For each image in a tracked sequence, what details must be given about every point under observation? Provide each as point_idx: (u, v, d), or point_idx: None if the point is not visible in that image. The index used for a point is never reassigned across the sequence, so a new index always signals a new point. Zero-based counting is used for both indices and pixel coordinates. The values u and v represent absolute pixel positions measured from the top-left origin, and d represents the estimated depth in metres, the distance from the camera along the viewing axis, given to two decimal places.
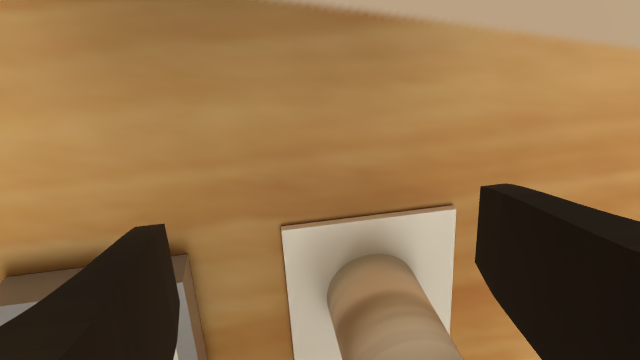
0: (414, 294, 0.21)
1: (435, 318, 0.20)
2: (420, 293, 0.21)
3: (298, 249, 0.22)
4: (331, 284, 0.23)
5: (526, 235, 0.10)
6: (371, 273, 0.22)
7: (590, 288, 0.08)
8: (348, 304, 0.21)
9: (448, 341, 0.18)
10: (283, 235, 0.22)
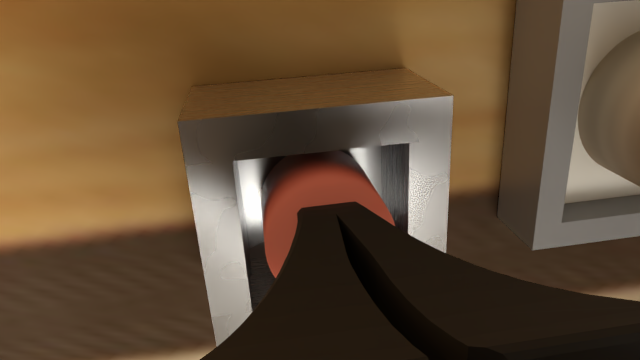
0: None
1: None
2: None
3: None
4: None
5: (349, 258, 0.09)
6: None
7: None
8: None
9: None
10: None
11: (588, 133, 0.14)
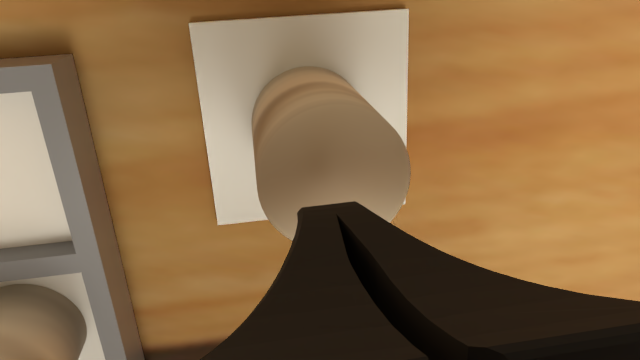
0: (348, 88, 0.16)
1: (371, 106, 0.15)
2: (358, 93, 0.17)
3: (211, 51, 0.18)
4: (255, 103, 0.19)
5: (349, 258, 0.09)
6: (299, 75, 0.17)
7: None
8: (266, 104, 0.17)
9: None
10: (191, 30, 0.18)
11: None
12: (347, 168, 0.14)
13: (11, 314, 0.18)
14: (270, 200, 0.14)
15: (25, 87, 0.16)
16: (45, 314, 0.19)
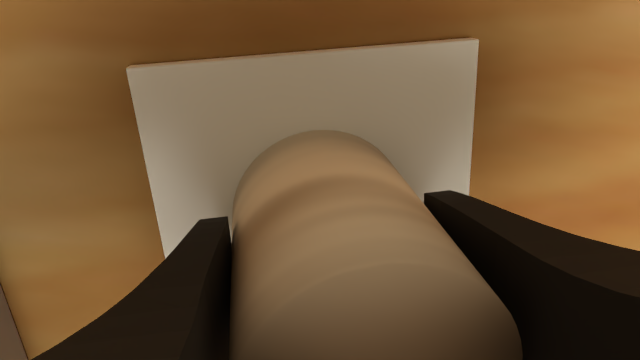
0: (393, 185, 0.09)
1: (439, 228, 0.08)
2: (407, 188, 0.10)
3: (166, 111, 0.11)
4: (238, 189, 0.12)
5: (460, 244, 0.10)
6: (307, 153, 0.11)
7: (513, 299, 0.08)
8: (252, 210, 0.10)
9: (473, 271, 0.07)
10: (131, 79, 0.11)
11: None
12: None
13: None
14: None
15: None
16: None
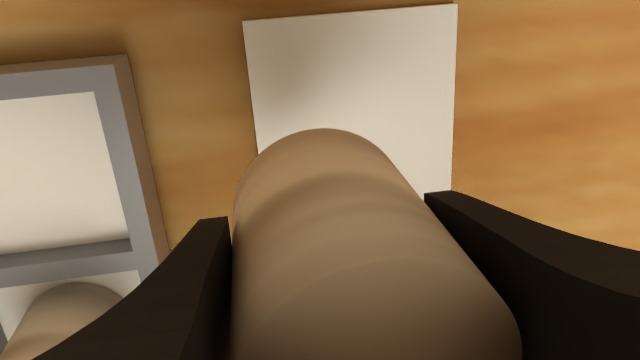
0: (392, 183, 0.09)
1: (439, 225, 0.09)
2: (407, 186, 0.10)
3: (264, 49, 0.18)
4: (238, 187, 0.12)
5: (460, 244, 0.10)
6: (308, 152, 0.11)
7: (512, 299, 0.08)
8: (252, 208, 0.10)
9: (473, 267, 0.07)
10: (244, 28, 0.18)
11: None
12: None
13: (76, 313, 0.18)
14: None
15: (88, 87, 0.16)
16: None
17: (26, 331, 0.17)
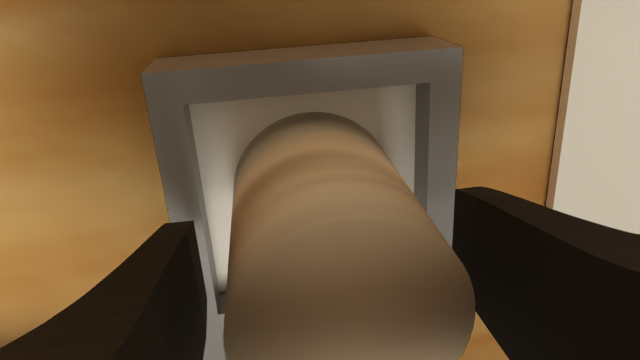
0: (372, 159, 0.11)
1: (410, 195, 0.10)
2: (386, 163, 0.11)
3: (598, 32, 0.14)
4: (238, 164, 0.13)
5: (496, 239, 0.10)
6: (299, 132, 0.12)
7: (555, 293, 0.08)
8: (249, 180, 0.11)
9: (432, 229, 0.09)
10: (583, 5, 0.14)
11: None
12: (373, 312, 0.09)
13: None
14: None
15: (425, 77, 0.12)
16: None
17: None
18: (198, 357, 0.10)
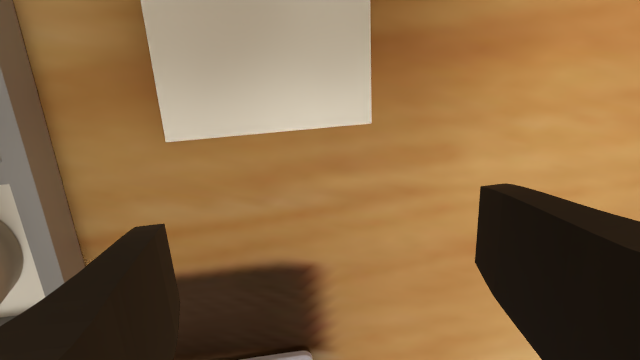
0: None
1: None
2: None
3: None
4: None
5: (526, 235, 0.10)
6: None
7: (590, 288, 0.08)
8: None
9: None
10: None
11: None
12: None
13: None
14: None
15: None
16: None
17: None
18: None
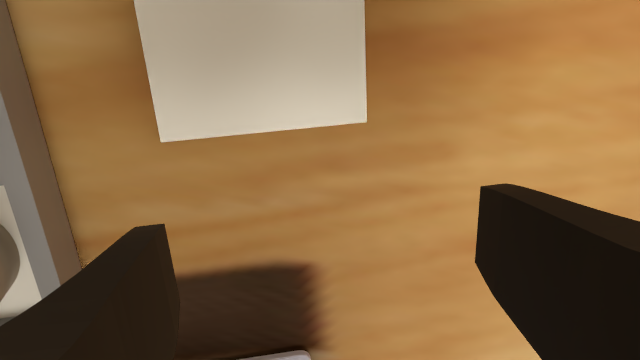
0: None
1: None
2: None
3: None
4: None
5: (526, 235, 0.10)
6: None
7: (590, 288, 0.08)
8: None
9: None
10: None
11: None
12: None
13: None
14: None
15: None
16: None
17: None
18: None
